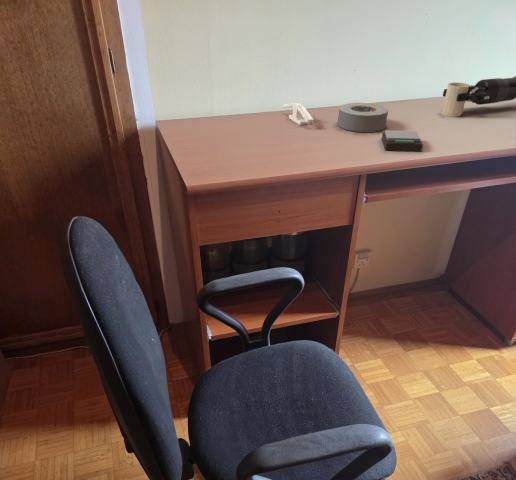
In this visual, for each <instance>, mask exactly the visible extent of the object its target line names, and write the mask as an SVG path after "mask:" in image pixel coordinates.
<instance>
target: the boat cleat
mask: <svg viewBox="0 0 516 480" xmlns="http://www.w3.org/2000/svg"><path fill="white" fill-rule="evenodd" d="M282 107H283V108H291V107H292V114H289V115H288V118H289V119H290V120H292V121H293V122H295V123H296V124H297V125H299V126H304V125H311V124H312V123H314V121H315V119H314V118H313V116H312V115H311V114H310V113H309V111H308V110H307V108H306V106H304V104H303V103H302V102H293V103H284V104H283V105H282Z"/></svg>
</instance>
